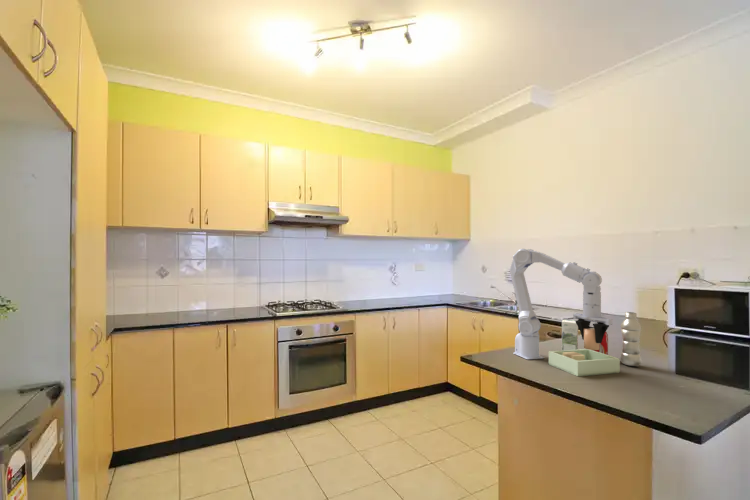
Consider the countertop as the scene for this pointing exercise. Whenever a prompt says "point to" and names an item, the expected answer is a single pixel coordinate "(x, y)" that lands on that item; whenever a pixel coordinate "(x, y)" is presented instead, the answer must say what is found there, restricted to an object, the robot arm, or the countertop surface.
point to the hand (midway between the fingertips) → (591, 341)
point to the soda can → (603, 345)
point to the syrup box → (569, 335)
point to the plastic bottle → (630, 340)
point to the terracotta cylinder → (590, 339)
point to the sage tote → (585, 363)
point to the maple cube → (574, 355)
